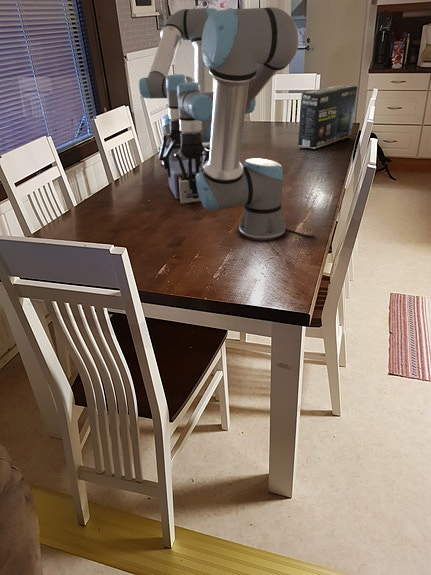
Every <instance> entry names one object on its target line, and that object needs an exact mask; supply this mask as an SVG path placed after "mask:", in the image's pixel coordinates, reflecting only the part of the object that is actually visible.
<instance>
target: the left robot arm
mask: <svg viewBox="0 0 431 575" xmlns="http://www.w3.org/2000/svg"><path fill="white" fill-rule="evenodd" d="M214 11H218V9H216V8H214V7H201V8H182V9H179V10H177V11H175V12H174V13H172V14H171V15H170V16H169V17H168V18H167V19H166V21H165V22H164V24H163V25H162V27H161V31H160V41H159V44H158V47H157V49H156V51H155V52H156V53H155V56H154V58H153V61H152V64H151V67H150V70H149V72H148V75H147V77H146V76H145V77H141V78H140V79H139V81H138V92H139V95H140V97H141V98H143V99H167V108H168V113H167V114H164V115H163V116H162V118H161V130H162V135H161V136H162V141H161V145H160V146H158V150H159V153H158V160H159V161H161V166H163V167H164V170H166V174H167V175H166V176H167V177H168V178H170V168H169V162H173V161H178V160H177V158H176V157H175V155H174V154H175V153H177V152H178V151H180V147H181V136H180V133H181V131H180V121H179V108H178V97H177V86H178V84H180V83H184V82H196V83H198V84H199V85H200V91H201V93H207V92H214V82H215V78H214V77H213V76H212V75H211V74H210V72H209V67H207V66H206V65H205V63H204V61H203V56H202V51H203V49H202V35H203V29H204V26H205V23H206V20H207V19H208V17H209V16H210V14H211V13H213V12H214ZM183 41H190V44H191V46H192V47H193V49H194V78H193V77H191V76H188V75H187V76H186V75H185V74H180V73H179V74H178V73H177V74H170V71H171V68H172V65H173V63H174V60H175V57H176V53H177V50H178V47H180V46H181V45H182V43H183ZM201 122H202V130H201V132H202V141H203V142H205V143H207V142H211V127H212V118H210V119H208V120H207V121H201ZM181 155H182V157H181V159H182V161H183V160H187V158H186V157H185V156H184V155H183V154H181ZM202 157H203V152H202V154H201V155H200V157H199V166H201V165H202V162H201V159H202Z"/></svg>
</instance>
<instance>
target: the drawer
mask: <svg viewBox="0 0 431 575" xmlns="http://www.w3.org/2000/svg"><path fill="white" fill-rule="evenodd" d="M187 176H188V174H187ZM192 176H193V179H195V174H192ZM177 189H178V194H179V196H180V199H179V200H180V204H187V203H196V202H201V200H200V197H199V194H198V190H197V193H192V190H190V188H189V181H188V180H185V179H184V178H183V175H178V176H177ZM193 197H198V198H196V199H194V198H193Z"/></svg>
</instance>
